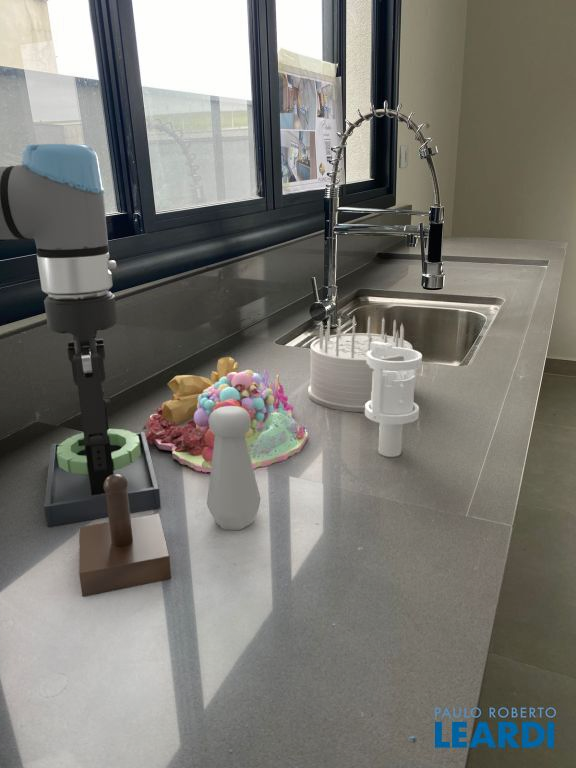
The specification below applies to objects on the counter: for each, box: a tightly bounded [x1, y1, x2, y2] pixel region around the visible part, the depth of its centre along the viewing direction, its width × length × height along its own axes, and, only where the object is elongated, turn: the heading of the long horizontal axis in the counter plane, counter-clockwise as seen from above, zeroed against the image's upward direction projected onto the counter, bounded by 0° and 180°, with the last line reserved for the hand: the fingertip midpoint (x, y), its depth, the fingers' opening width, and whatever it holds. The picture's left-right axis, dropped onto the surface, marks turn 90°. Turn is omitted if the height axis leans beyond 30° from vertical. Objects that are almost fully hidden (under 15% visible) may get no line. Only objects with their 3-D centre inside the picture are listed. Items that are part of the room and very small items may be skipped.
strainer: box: [364, 341, 423, 458], centre depth 80 cm, size 7×7×15 cm
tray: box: [43, 431, 162, 528], centre depth 75 cm, size 12×17×2 cm
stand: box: [78, 474, 172, 597], centre depth 58 cm, size 8×8×10 cm
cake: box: [307, 315, 414, 413], centre depth 103 cm, size 18×18×13 cm
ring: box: [57, 428, 141, 475], centre depth 74 cm, size 10×10×2 cm
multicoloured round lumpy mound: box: [141, 356, 309, 473], centre depth 88 cm, size 25×24×9 cm
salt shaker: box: [206, 406, 262, 531], centre depth 64 cm, size 6×6×13 cm
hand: (102, 472), depth 75 cm, fingers closed on ring, 9 cm apart
